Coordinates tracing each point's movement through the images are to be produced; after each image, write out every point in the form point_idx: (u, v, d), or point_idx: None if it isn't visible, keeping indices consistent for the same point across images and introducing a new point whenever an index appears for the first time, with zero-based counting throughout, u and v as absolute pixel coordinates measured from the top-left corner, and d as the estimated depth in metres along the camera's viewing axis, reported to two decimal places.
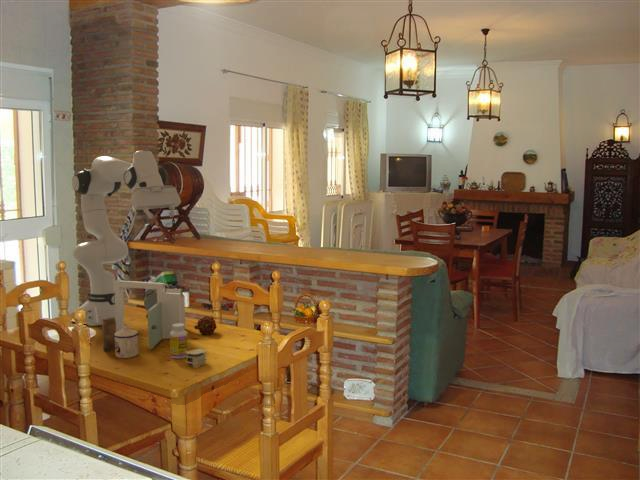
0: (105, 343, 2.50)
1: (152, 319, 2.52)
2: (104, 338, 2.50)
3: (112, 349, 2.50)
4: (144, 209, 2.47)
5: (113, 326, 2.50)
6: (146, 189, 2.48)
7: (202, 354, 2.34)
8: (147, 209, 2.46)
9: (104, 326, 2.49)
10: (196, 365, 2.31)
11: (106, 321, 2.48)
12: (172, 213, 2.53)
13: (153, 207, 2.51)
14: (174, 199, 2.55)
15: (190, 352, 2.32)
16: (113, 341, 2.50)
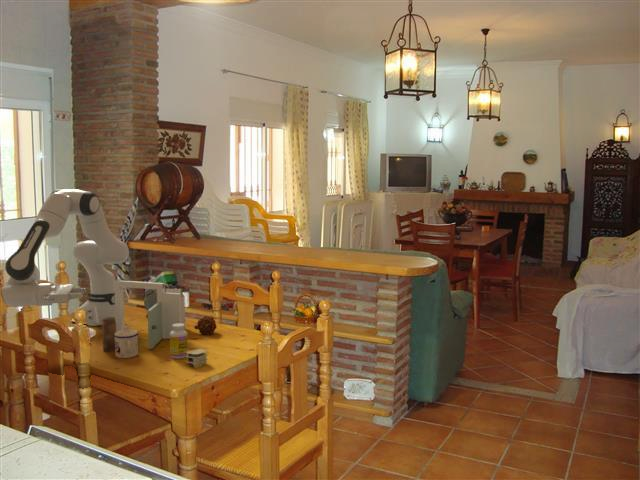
0: (105, 343, 2.50)
1: (152, 319, 2.52)
2: (104, 338, 2.50)
3: (112, 349, 2.50)
4: None
5: (113, 326, 2.50)
6: None
7: (203, 354, 2.34)
8: (76, 292, 2.52)
9: (104, 326, 2.49)
10: (197, 365, 2.31)
11: (106, 321, 2.48)
12: None
13: (71, 289, 2.47)
14: None
15: (191, 352, 2.32)
16: (113, 341, 2.50)
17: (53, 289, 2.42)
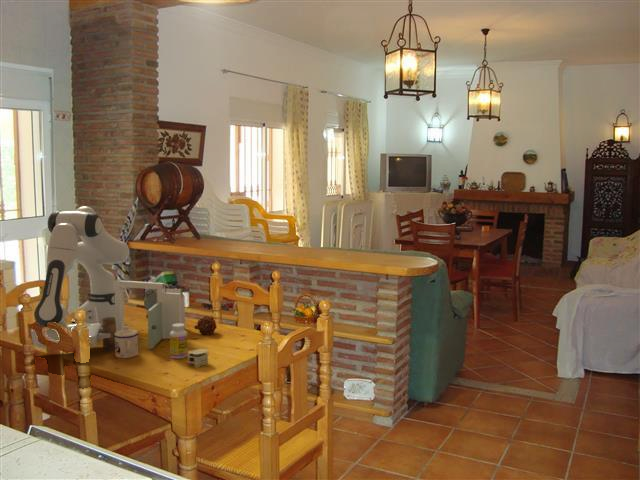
0: (105, 343, 2.50)
1: (152, 319, 2.52)
2: (104, 338, 2.50)
3: (112, 349, 2.50)
4: None
5: (113, 326, 2.50)
6: None
7: (204, 354, 2.34)
8: None
9: (104, 326, 2.49)
10: (198, 365, 2.31)
11: (106, 321, 2.48)
12: None
13: (98, 329, 2.52)
14: None
15: (192, 352, 2.32)
16: (113, 341, 2.50)
17: None
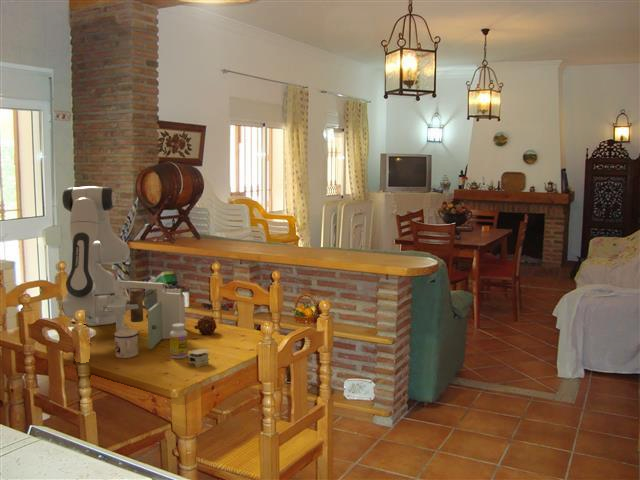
0: (133, 314, 2.58)
1: (152, 319, 2.52)
2: (132, 309, 2.58)
3: (139, 320, 2.59)
4: None
5: (140, 298, 2.58)
6: None
7: (205, 354, 2.34)
8: None
9: (132, 297, 2.57)
10: (198, 365, 2.31)
11: (134, 293, 2.57)
12: None
13: None
14: None
15: (192, 352, 2.32)
16: (140, 312, 2.59)
17: (110, 301, 2.55)
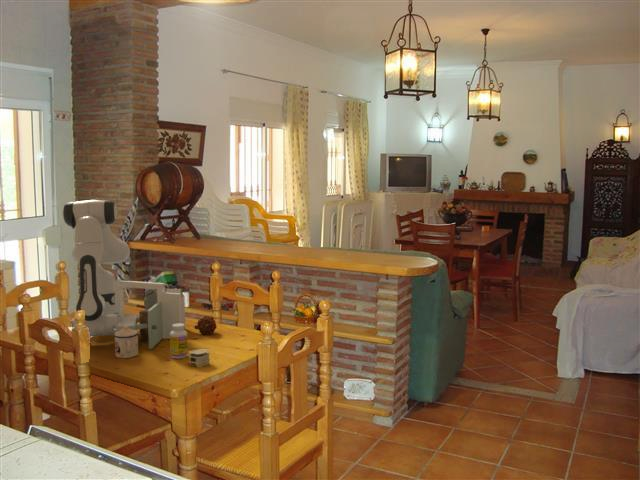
0: (142, 335, 2.62)
1: (152, 319, 2.52)
2: (141, 330, 2.62)
3: None
4: None
5: None
6: None
7: (205, 354, 2.34)
8: None
9: (141, 318, 2.61)
10: (199, 365, 2.31)
11: (143, 313, 2.60)
12: None
13: (135, 319, 2.64)
14: None
15: (193, 352, 2.32)
16: None
17: (120, 320, 2.59)
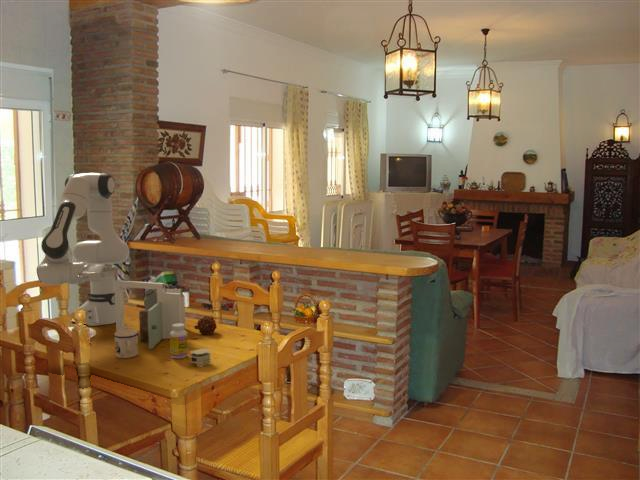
0: (142, 335, 2.62)
1: (152, 319, 2.52)
2: (141, 330, 2.62)
3: None
4: None
5: None
6: None
7: (206, 354, 2.34)
8: (107, 271, 2.63)
9: (141, 318, 2.61)
10: (200, 365, 2.31)
11: (143, 313, 2.60)
12: None
13: (102, 268, 2.58)
14: None
15: (194, 352, 2.32)
16: None
17: (86, 268, 2.53)
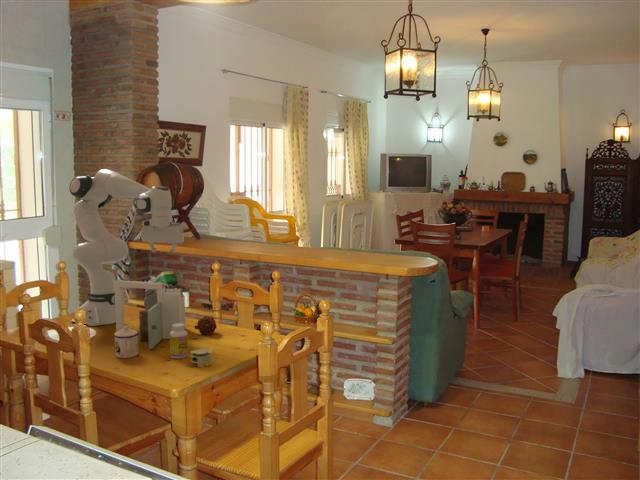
0: (142, 335, 2.62)
1: (152, 319, 2.52)
2: (141, 330, 2.62)
3: None
4: None
5: None
6: (149, 227, 2.78)
7: (207, 354, 2.34)
8: (150, 244, 2.81)
9: (141, 318, 2.61)
10: (201, 365, 2.31)
11: (143, 314, 2.60)
12: (171, 251, 2.79)
13: None
14: (174, 239, 2.76)
15: (195, 352, 2.32)
16: None
17: None
